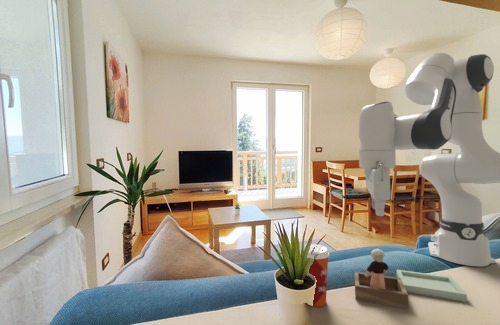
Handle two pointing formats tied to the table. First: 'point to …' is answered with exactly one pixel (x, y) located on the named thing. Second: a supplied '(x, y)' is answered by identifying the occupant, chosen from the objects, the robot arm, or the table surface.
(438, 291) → the tray
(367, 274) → the grandmother figurine
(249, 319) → the table surface
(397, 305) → the holder
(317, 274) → the red shaker can
